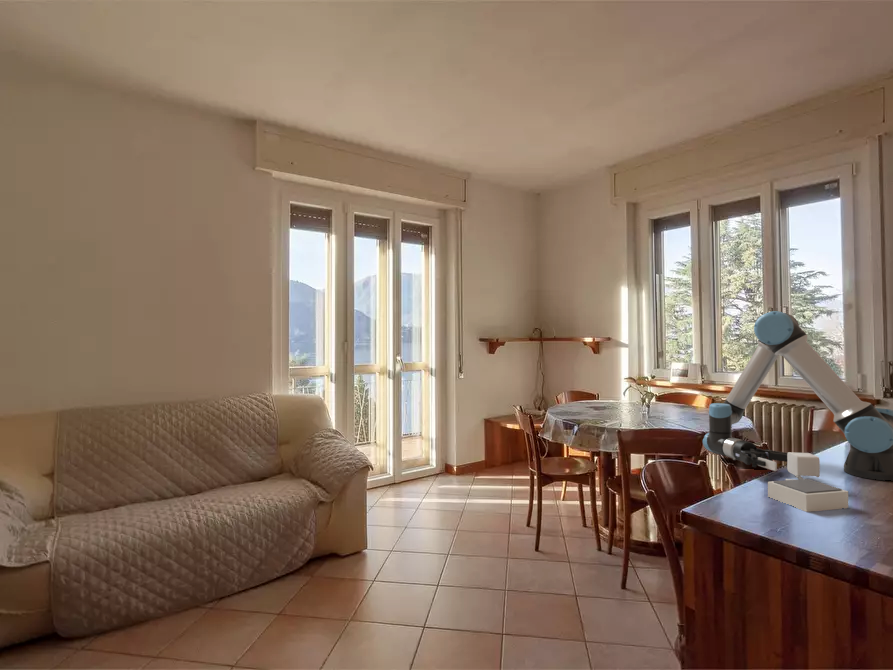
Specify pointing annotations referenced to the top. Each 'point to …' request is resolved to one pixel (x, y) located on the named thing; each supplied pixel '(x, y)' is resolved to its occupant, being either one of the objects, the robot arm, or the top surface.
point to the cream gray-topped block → (808, 494)
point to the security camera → (803, 464)
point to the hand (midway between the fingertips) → (793, 465)
